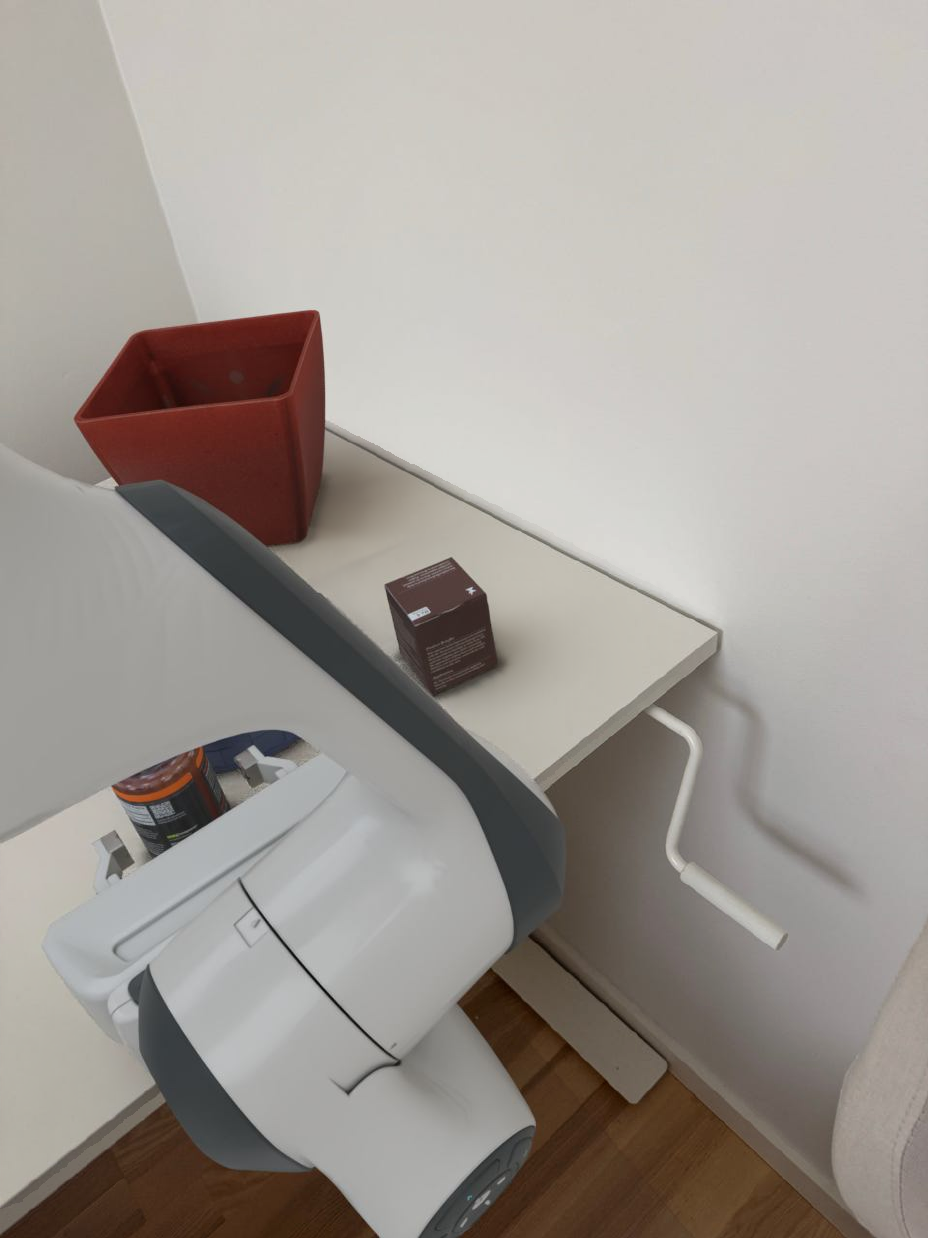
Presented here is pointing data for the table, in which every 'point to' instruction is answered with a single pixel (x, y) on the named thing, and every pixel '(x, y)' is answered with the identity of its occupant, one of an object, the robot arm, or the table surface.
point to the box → (442, 625)
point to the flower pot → (220, 417)
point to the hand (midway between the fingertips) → (178, 799)
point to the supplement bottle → (172, 800)
